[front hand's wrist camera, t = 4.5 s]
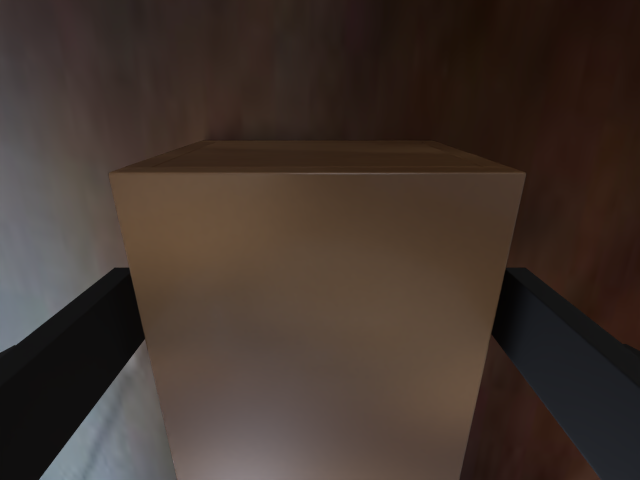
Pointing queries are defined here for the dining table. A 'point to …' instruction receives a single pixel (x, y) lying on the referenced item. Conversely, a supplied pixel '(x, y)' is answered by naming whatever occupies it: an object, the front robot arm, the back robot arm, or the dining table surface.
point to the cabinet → (317, 302)
